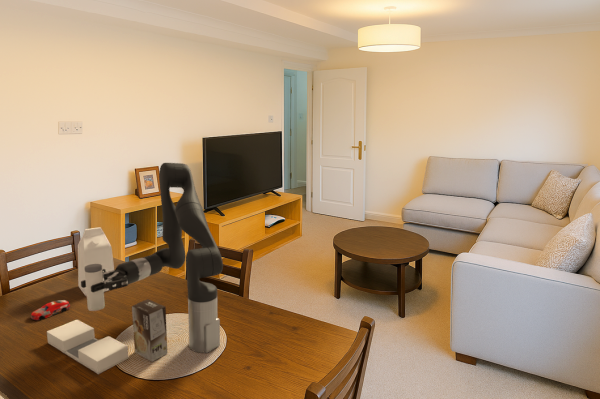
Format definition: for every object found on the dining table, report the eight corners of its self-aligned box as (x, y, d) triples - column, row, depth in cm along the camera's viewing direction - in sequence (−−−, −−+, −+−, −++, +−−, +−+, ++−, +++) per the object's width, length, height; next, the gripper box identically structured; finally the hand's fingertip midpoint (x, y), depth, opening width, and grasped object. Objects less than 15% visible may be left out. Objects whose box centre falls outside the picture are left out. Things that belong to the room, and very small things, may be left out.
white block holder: (128, 358, 132) (127, 346, 131) (98, 374, 124) (97, 361, 123) (77, 330, 147) (76, 319, 146) (47, 343, 139) (46, 331, 138)
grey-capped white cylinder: (107, 306, 139) (105, 266, 136) (93, 312, 135) (90, 270, 132) (99, 302, 142) (96, 262, 139) (84, 307, 138) (81, 267, 135)
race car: (35, 323, 151) (33, 313, 150) (28, 318, 154) (27, 308, 153) (72, 309, 162) (71, 300, 161) (65, 305, 165) (64, 296, 164)
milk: (108, 279, 189) (104, 223, 184) (116, 288, 181) (112, 229, 175) (78, 286, 182) (73, 227, 176) (85, 295, 173) (80, 234, 167)
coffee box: (168, 353, 136) (167, 306, 132) (151, 362, 131) (149, 314, 127) (150, 343, 141) (148, 298, 137) (133, 352, 135) (130, 305, 132)
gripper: (120, 256, 152) (73, 270, 138) (146, 265, 144) (98, 281, 130) (121, 276, 153) (75, 292, 139) (147, 286, 146) (100, 304, 132)
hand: (86, 286), depth 135 cm, fingers closed on grey-capped white cylinder, 5 cm apart
